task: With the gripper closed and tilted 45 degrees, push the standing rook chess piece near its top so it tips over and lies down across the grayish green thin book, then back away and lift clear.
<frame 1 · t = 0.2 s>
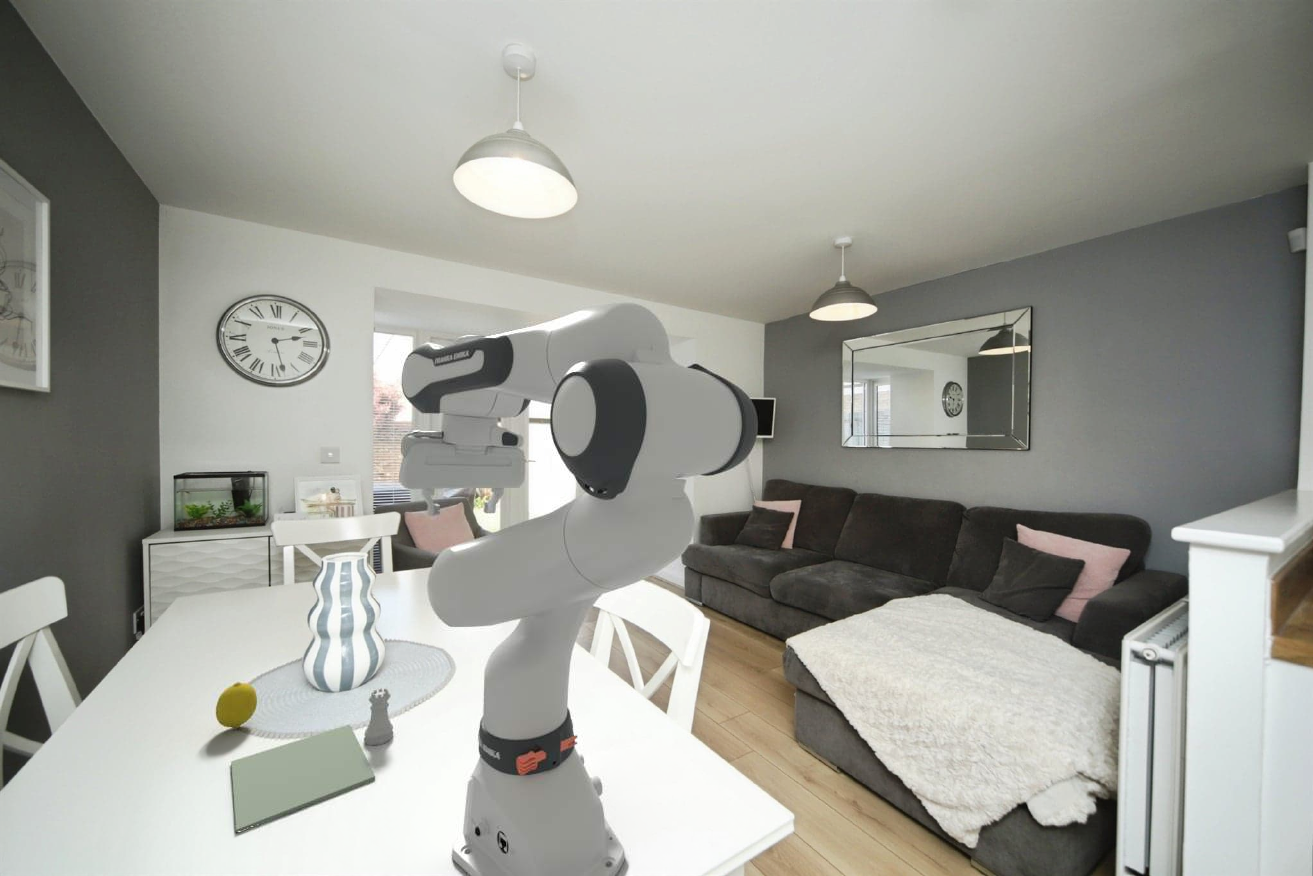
hand: (462, 514, 85), 39 cm above the table, tool pointing down, fingers open, 8 cm apart
rook chess piece: (378, 740, 85), on the table
lemon: (236, 729, 87), on the table
grayish green thin book: (301, 771, 76), on the table
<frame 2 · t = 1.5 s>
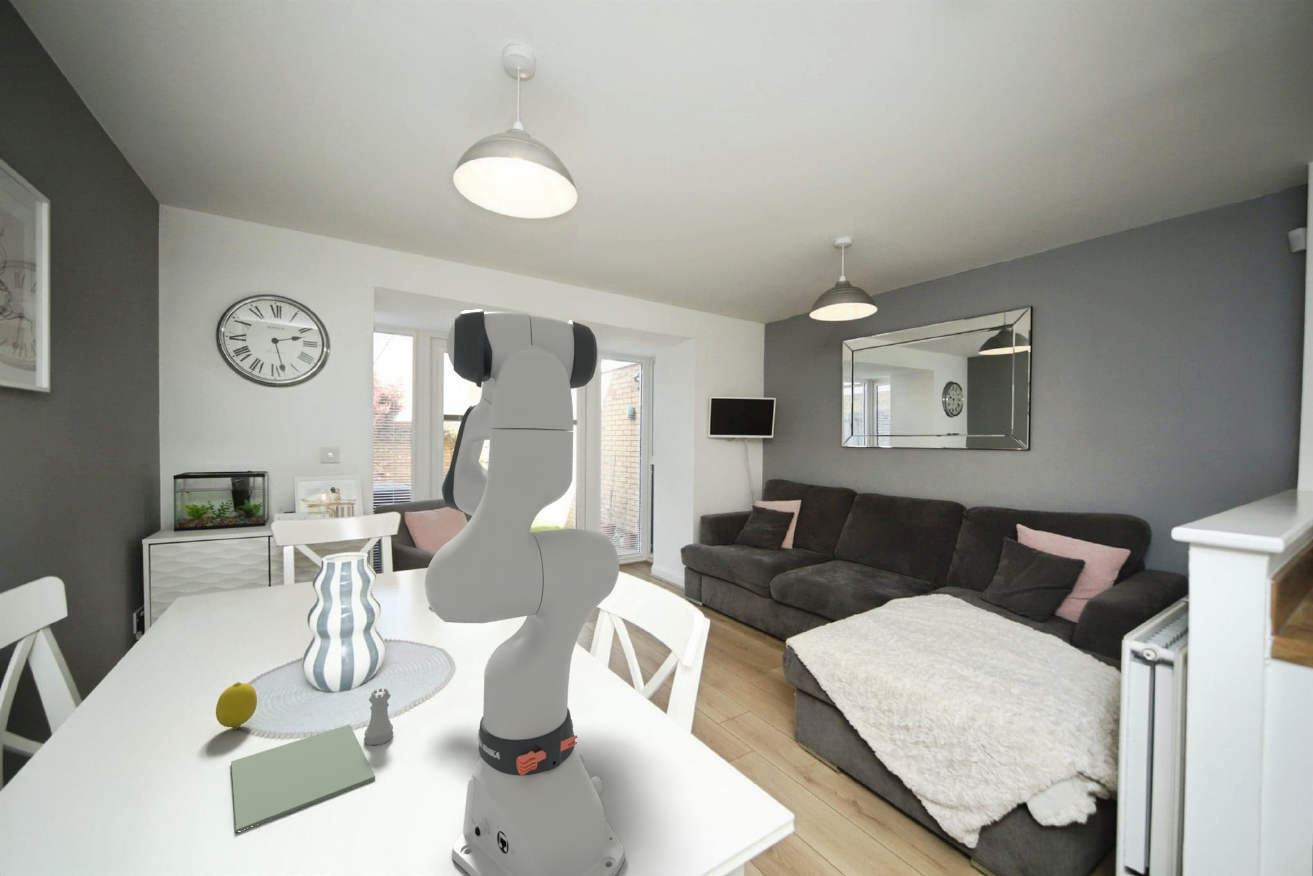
hand: (444, 615, 96), 18 cm above the table, tool tilted 45°, fingers open, 6 cm apart
nothing on the table moved.
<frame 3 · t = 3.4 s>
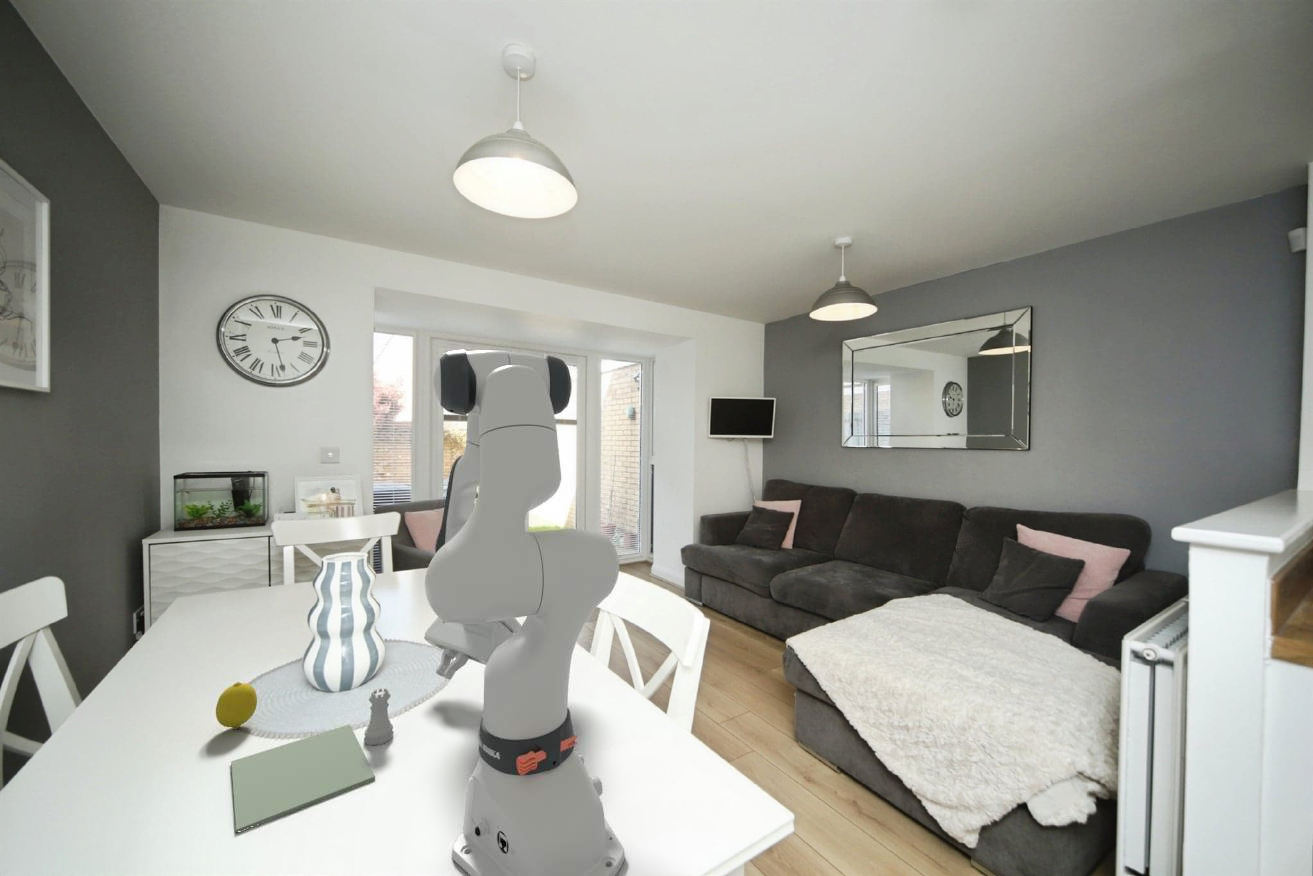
hand: (442, 676, 96), 6 cm above the table, tool tilted 45°, fingers closed
nothing on the table moved.
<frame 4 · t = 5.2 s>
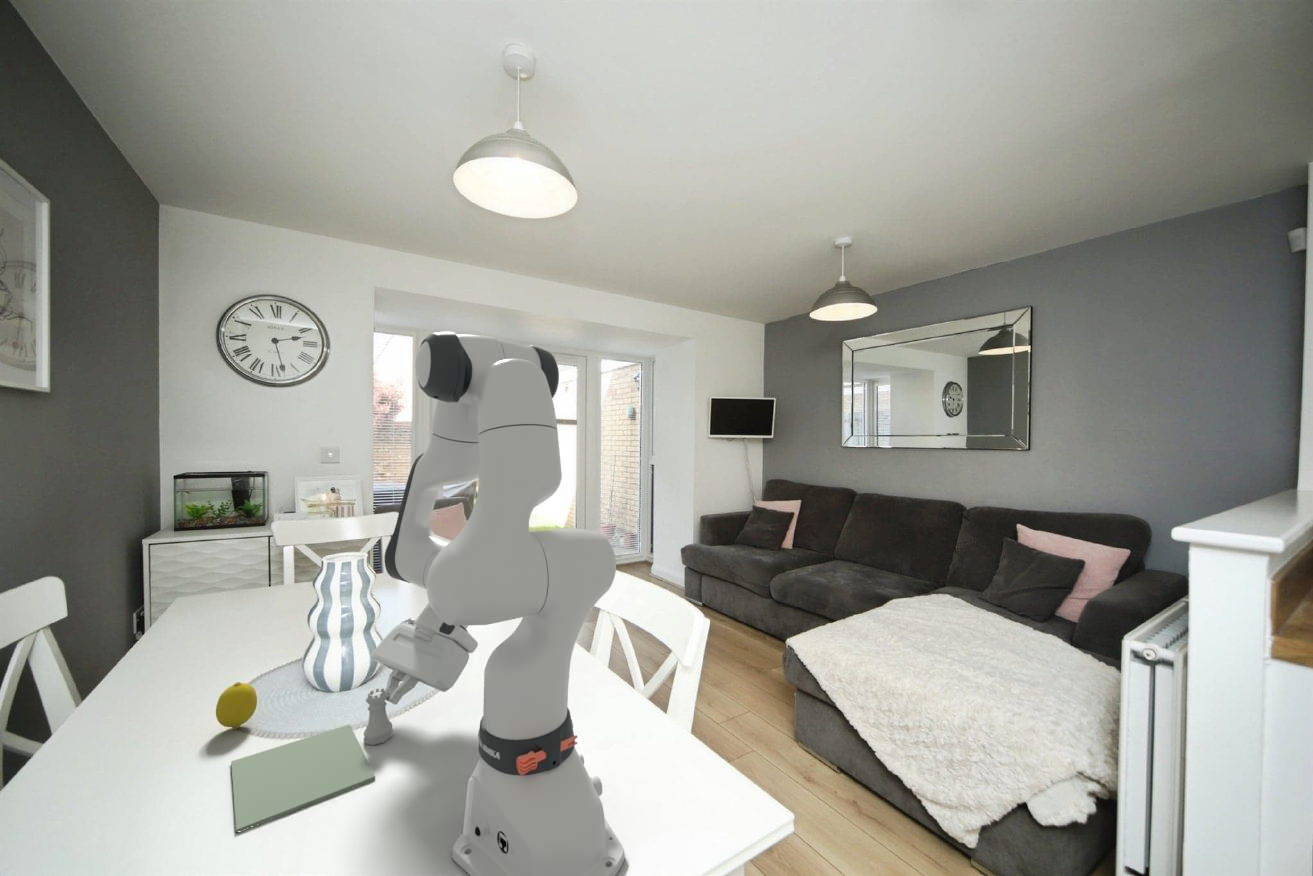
hand: (387, 701, 86), 6 cm above the table, tool tilted 45°, fingers closed, pressing on rook chess piece
rook chess piece: (378, 739, 85), on the table, touching gripper
everything else where it was.
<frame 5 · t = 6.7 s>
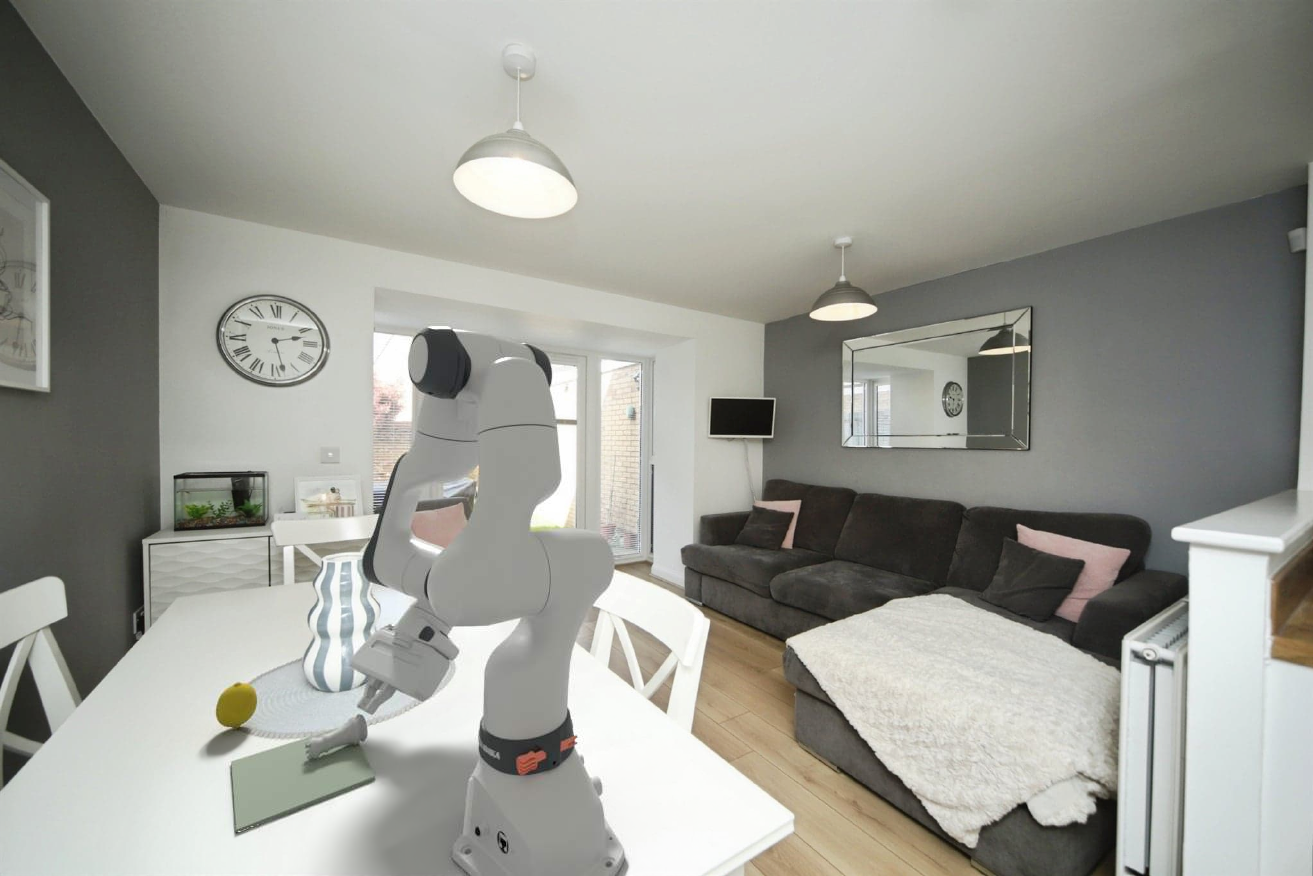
hand: (364, 711, 83), 6 cm above the table, tool tilted 45°, fingers closed
rook chess piece: (365, 725, 84), point 3 cm above the table, touching grayish green thin book
everything else where it was.
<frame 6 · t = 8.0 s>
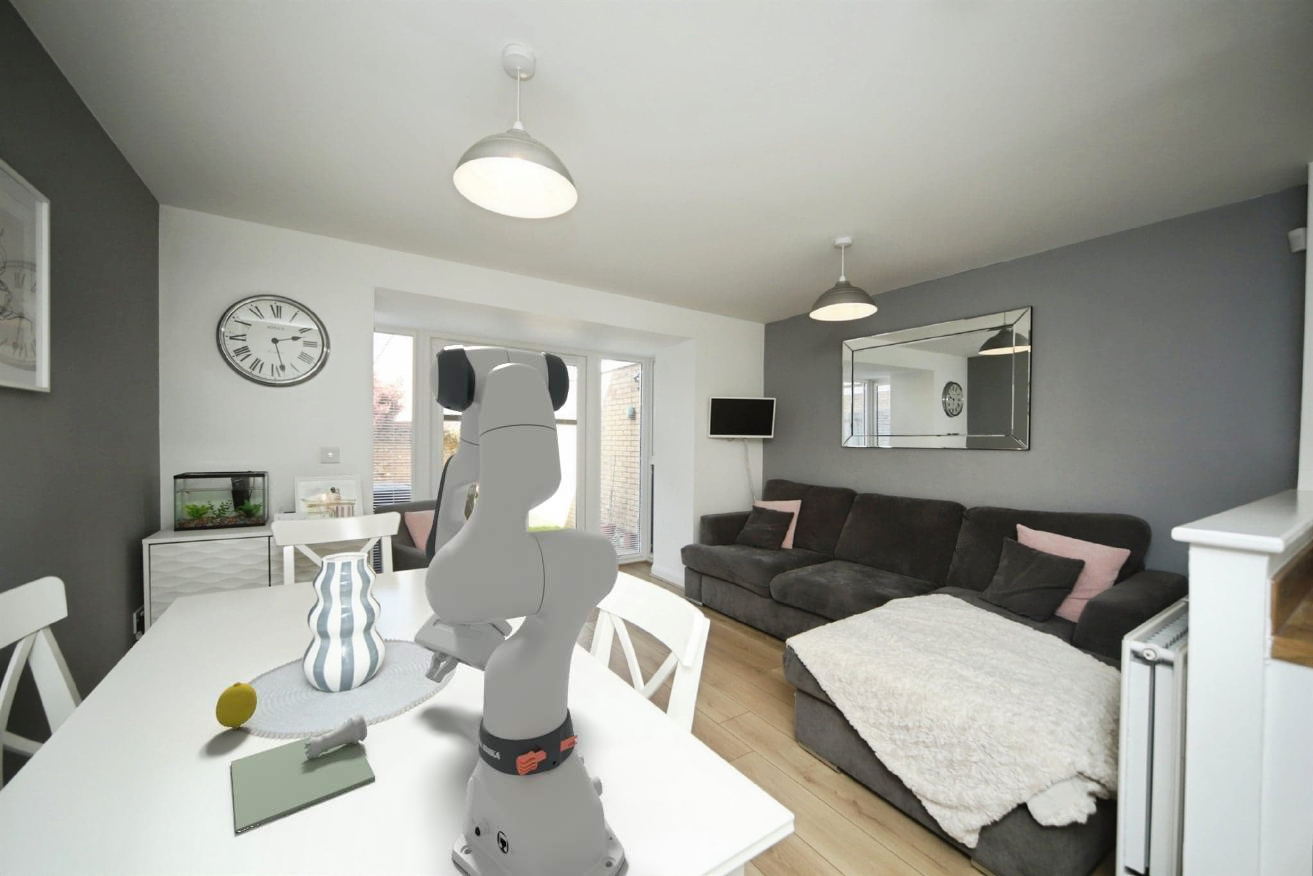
hand: (431, 680, 94), 6 cm above the table, tool tilted 45°, fingers closed
nothing on the table moved.
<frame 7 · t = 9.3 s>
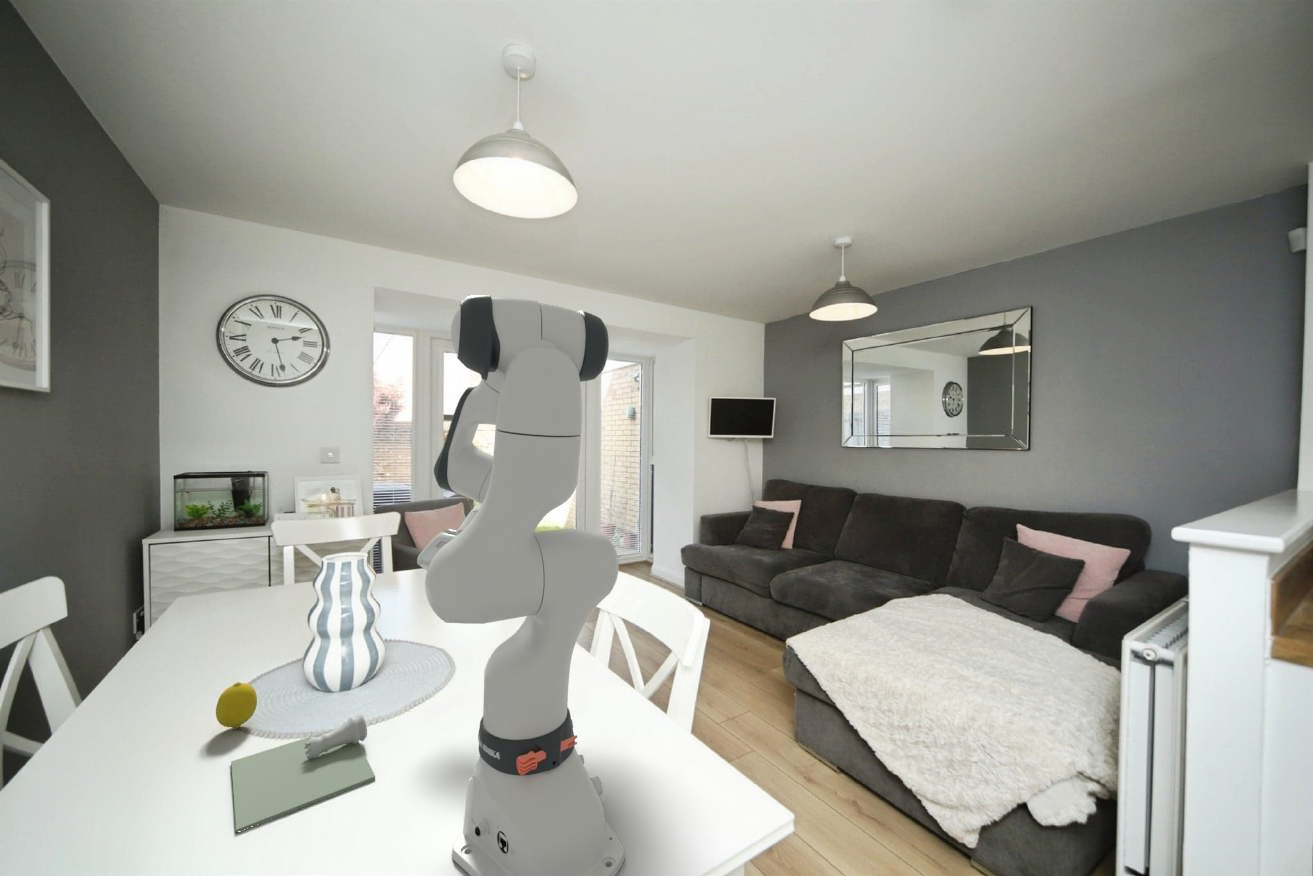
hand: (440, 597, 95), 21 cm above the table, tool tilted 40°, fingers closed
nothing on the table moved.
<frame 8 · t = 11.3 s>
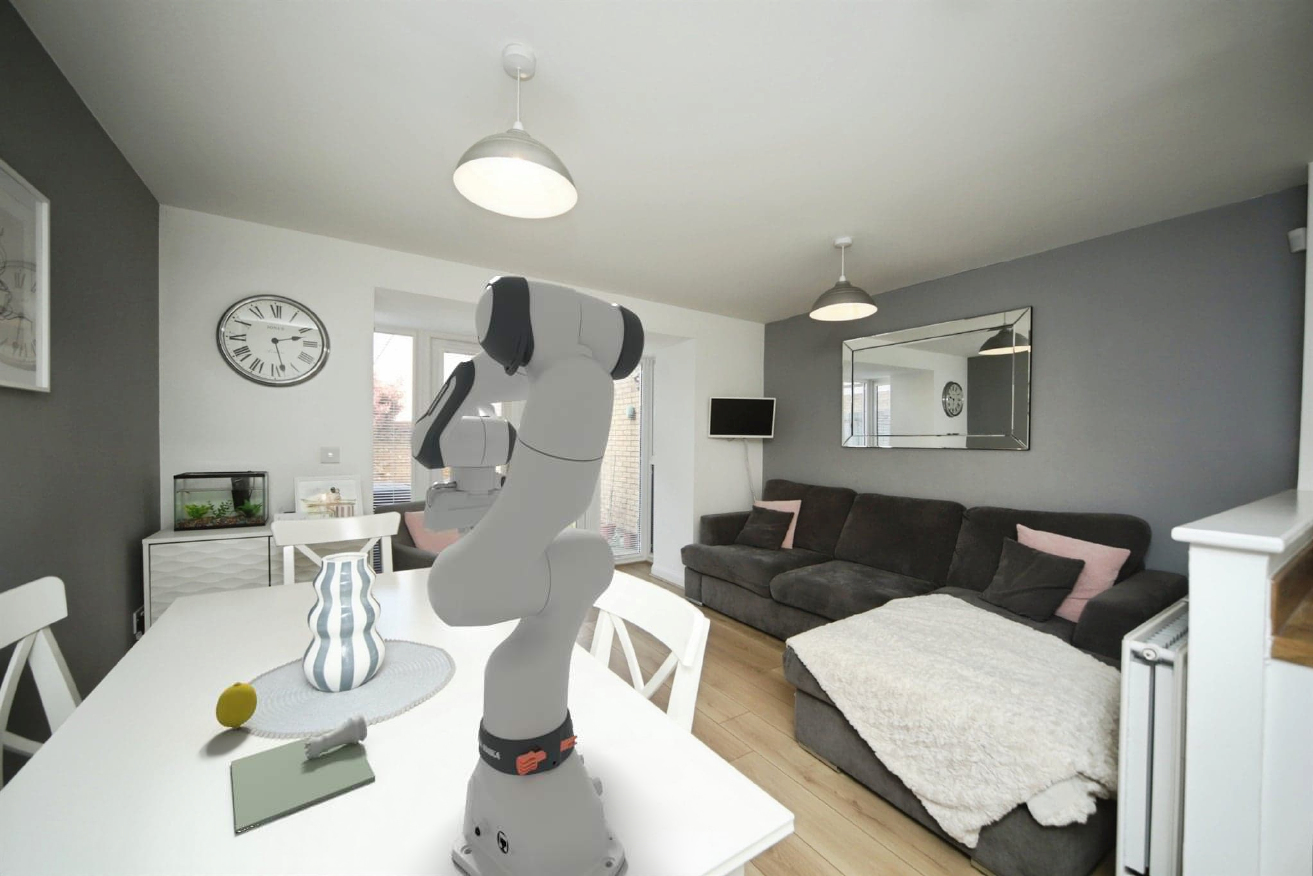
hand: (471, 547, 103), 29 cm above the table, tool pointing down, fingers closed
nothing on the table moved.
at the end: rook chess piece tilted 95°; rook chess piece touching grayish green thin book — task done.
